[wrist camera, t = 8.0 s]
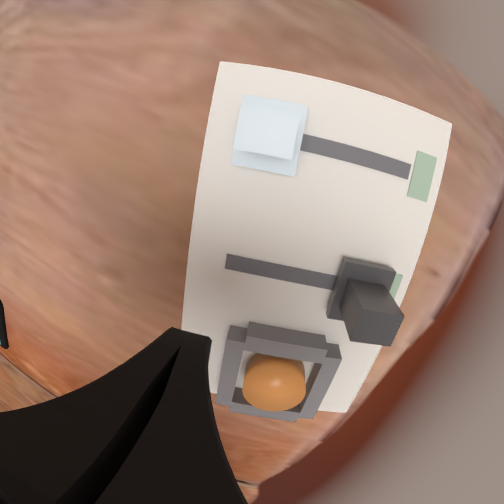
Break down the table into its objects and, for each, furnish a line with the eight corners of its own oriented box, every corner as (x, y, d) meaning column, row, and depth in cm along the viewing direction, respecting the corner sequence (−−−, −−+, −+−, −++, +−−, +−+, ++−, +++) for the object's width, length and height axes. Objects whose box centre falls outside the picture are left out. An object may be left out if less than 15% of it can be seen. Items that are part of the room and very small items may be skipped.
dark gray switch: (372, 320, 16) (390, 360, 12) (325, 312, 16) (335, 354, 12) (392, 267, 14) (419, 300, 11) (343, 257, 14) (360, 289, 11)
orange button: (295, 394, 18) (296, 415, 16) (241, 385, 18) (237, 405, 17) (311, 354, 17) (313, 374, 15) (251, 344, 17) (248, 363, 15)
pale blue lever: (293, 175, 13) (298, 185, 10) (233, 163, 13) (217, 169, 10) (307, 108, 12) (316, 95, 9) (245, 96, 12) (234, 80, 9)
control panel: (343, 398, 20) (348, 427, 17) (183, 370, 20) (172, 398, 18) (438, 124, 13) (466, 123, 11) (225, 68, 14) (214, 53, 11)
